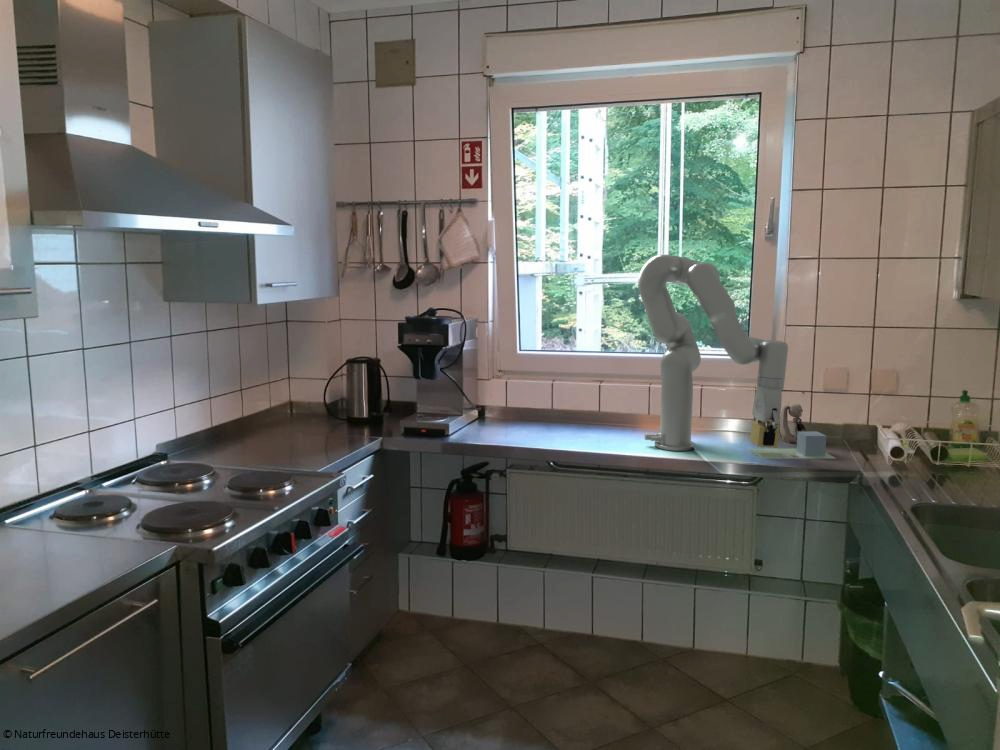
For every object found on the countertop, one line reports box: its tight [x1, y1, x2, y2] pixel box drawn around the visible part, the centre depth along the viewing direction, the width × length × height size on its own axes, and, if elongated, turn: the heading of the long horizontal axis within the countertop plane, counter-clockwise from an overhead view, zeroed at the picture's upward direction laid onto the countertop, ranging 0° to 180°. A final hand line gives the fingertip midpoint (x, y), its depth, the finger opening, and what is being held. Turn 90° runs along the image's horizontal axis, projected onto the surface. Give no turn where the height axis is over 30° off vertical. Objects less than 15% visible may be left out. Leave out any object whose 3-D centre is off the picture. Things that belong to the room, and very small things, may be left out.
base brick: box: [795, 430, 827, 456], centre depth 230 cm, size 6×6×6 cm
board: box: [747, 448, 837, 460], centre depth 230 cm, size 22×12×1 cm, turn 93°
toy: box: [778, 401, 808, 444], centre depth 247 cm, size 9×8×15 cm
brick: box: [749, 421, 780, 448], centre depth 230 cm, size 6×6×6 cm
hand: (763, 441), depth 230 cm, fingers closed on brick, 6 cm apart
